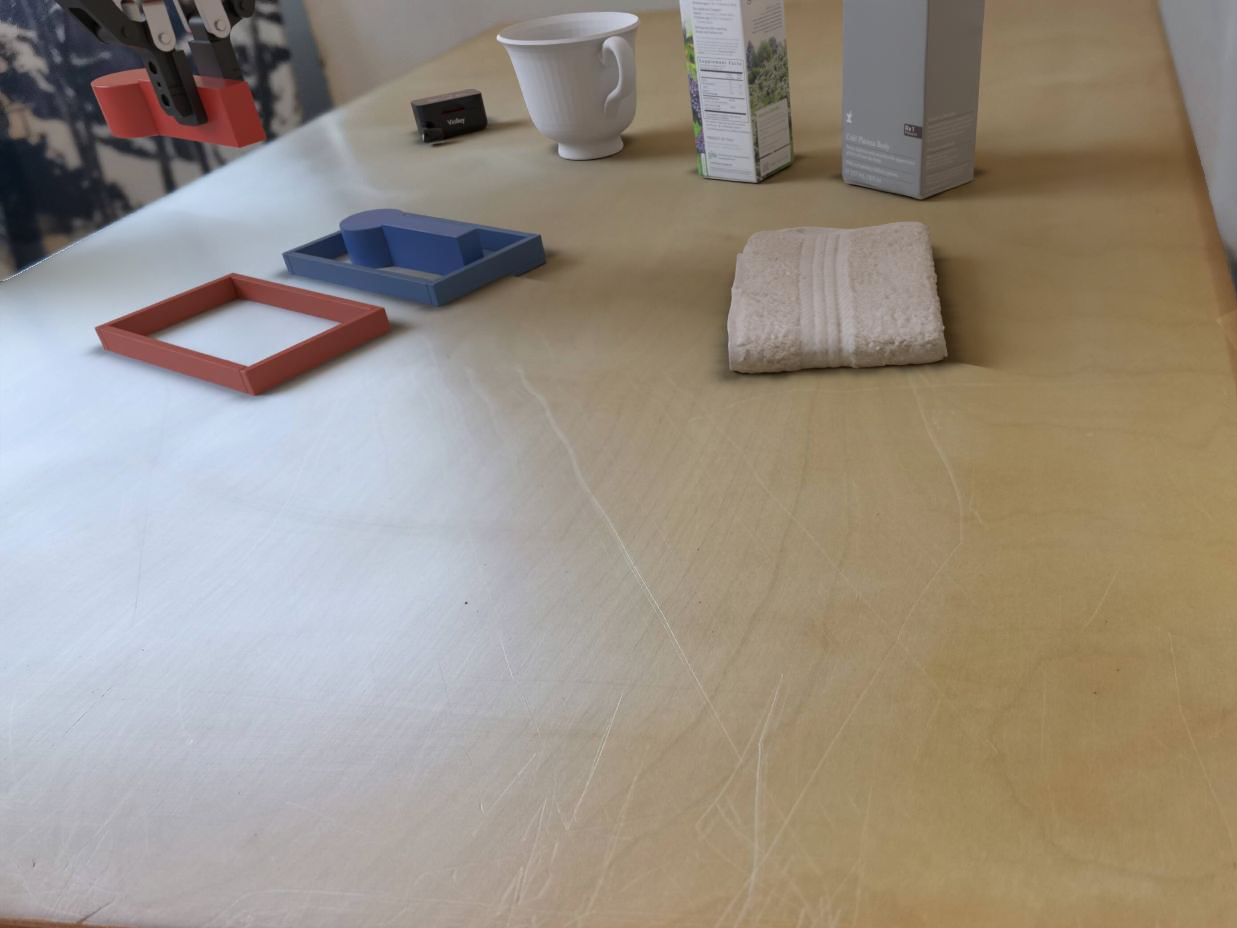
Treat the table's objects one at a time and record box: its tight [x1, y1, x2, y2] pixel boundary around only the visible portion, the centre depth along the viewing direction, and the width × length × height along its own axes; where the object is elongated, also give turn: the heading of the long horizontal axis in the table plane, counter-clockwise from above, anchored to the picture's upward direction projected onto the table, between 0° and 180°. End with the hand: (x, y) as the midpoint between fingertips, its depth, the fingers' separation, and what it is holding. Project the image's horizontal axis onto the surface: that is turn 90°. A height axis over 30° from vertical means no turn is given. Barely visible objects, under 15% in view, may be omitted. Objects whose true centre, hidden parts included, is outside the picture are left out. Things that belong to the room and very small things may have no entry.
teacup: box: [496, 11, 642, 161], centre depth 96 cm, size 12×15×10 cm
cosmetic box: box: [841, 0, 986, 200], centre depth 81 cm, size 8×7×16 cm
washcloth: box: [726, 221, 949, 374], centre depth 66 cm, size 12×18×3 cm, turn 0°
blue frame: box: [281, 211, 547, 308], centre depth 77 cm, size 15×10×2 cm, turn 57°
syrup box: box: [678, 0, 795, 184], centre depth 87 cm, size 6×6×14 cm
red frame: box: [94, 272, 392, 397], centre depth 69 cm, size 15×10×2 cm, turn 57°
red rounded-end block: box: [90, 67, 267, 149], centre depth 64 cm, size 12×4×3 cm, turn 58°
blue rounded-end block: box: [338, 208, 484, 277], centre depth 77 cm, size 12×4×3 cm, turn 57°
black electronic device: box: [410, 88, 489, 144], centre depth 107 cm, size 5×7×3 cm, turn 123°
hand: (211, 117), depth 63 cm, fingers closed on red rounded-end block, 2 cm apart
